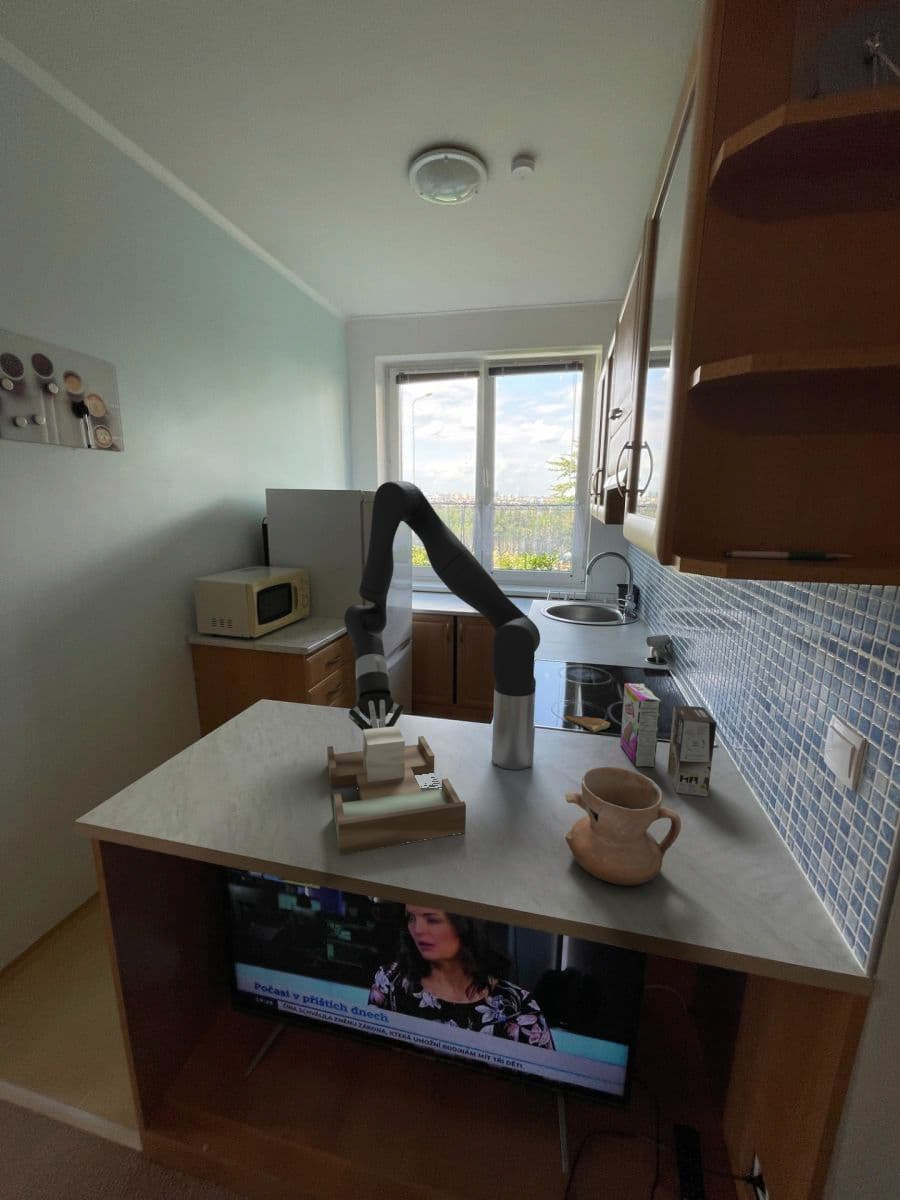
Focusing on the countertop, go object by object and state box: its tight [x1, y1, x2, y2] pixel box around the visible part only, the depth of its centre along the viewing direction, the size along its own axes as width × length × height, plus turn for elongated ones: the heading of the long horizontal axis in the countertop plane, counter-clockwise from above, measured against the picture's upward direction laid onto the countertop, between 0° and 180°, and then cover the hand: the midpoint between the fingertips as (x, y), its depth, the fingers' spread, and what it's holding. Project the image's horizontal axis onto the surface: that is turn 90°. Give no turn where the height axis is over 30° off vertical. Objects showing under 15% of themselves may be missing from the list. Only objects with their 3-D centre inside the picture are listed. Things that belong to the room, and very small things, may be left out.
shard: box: [563, 714, 611, 733], centre depth 139 cm, size 11×8×2 cm
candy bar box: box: [619, 682, 662, 768], centre depth 119 cm, size 11×5×16 cm, turn 179°
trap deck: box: [326, 735, 467, 856], centre depth 101 cm, size 31×22×6 cm
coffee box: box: [666, 704, 718, 797], centre depth 107 cm, size 9×6×16 cm
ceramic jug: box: [565, 765, 682, 886], centre depth 81 cm, size 18×14×14 cm
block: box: [362, 725, 406, 782], centre depth 105 cm, size 8×8×8 cm
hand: (380, 749), depth 110 cm, fingers closed
